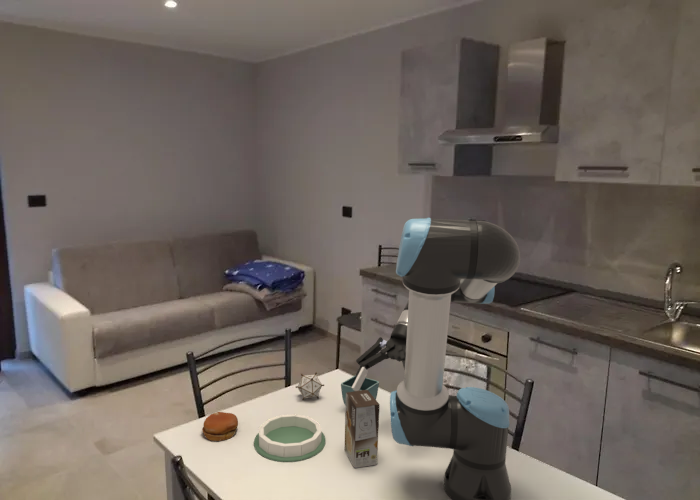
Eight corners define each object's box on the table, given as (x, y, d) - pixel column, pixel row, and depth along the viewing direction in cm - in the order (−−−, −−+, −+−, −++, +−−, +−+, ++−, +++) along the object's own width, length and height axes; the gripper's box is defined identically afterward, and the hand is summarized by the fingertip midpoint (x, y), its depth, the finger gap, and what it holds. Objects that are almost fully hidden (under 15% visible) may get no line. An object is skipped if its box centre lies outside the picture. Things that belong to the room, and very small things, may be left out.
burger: (217, 445, 131) (217, 429, 131) (195, 434, 137) (195, 418, 136) (246, 431, 139) (246, 415, 139) (223, 420, 145) (223, 405, 144)
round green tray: (339, 444, 133) (340, 432, 133) (279, 471, 121) (280, 457, 120) (298, 417, 147) (298, 406, 147) (240, 438, 135) (240, 426, 134)
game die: (313, 411, 160) (318, 395, 153) (289, 399, 161) (293, 383, 154) (324, 388, 166) (330, 373, 159) (301, 377, 167) (306, 361, 160)
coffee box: (378, 464, 125) (380, 404, 122) (353, 468, 123) (356, 407, 120) (365, 445, 134) (368, 389, 131) (342, 449, 132) (344, 391, 129)
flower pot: (339, 411, 152) (339, 383, 151) (355, 401, 160) (356, 374, 158) (363, 420, 147) (364, 391, 146) (378, 409, 155) (379, 381, 153)
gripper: (451, 347, 136) (420, 419, 127) (377, 327, 151) (344, 390, 142) (443, 333, 131) (410, 406, 122) (367, 314, 146) (332, 378, 137)
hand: (374, 397), depth 132 cm, fingers open, 13 cm apart
